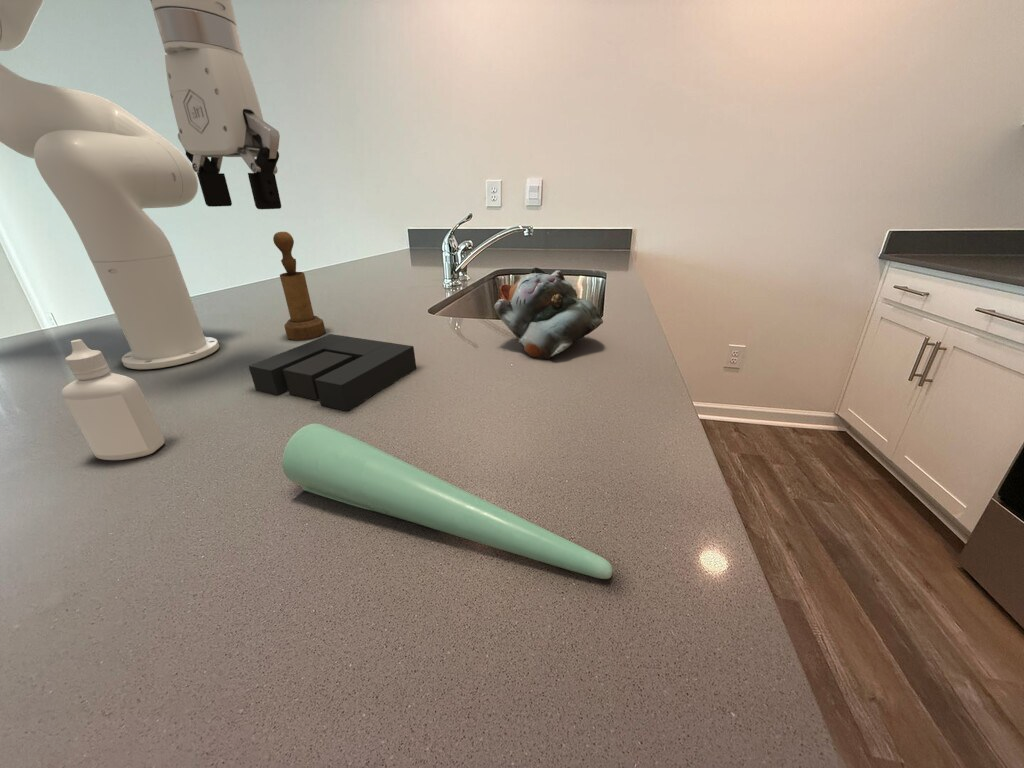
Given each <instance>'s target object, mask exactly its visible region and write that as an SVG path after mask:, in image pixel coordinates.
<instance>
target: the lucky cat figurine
mask: <svg viewBox="0 0 1024 768" xmlns="http://www.w3.org/2000/svg"><path fill="white" fill-rule="evenodd" d="M499 290H500V291H499V295H498V296H499V297H498V298H497V301H496V302H495V304H494V305H493V307H494V310H495V314H497V316H498V317H499V319H500V320H501V322H502V323H503V324H504V325H505V326H506V327H507V328H508V329H509V331H510V332H511V333H512V334H514V336H515V337H516V338H517V339H518V341H519V342H520V343H521V345H522V346H523V350H524V351H525V353H526V354H528V355H529V356H530V357H534V358H538V359H539V358H540V359H545V360H549V359H551V357H554V356H556V355H558V354H560V353H562V352H564V351H565V350H567V349H568V348H570V347H571V346H572V345H573V344H574V343H576V342H578V341H580V340H581V339H582V338H584V337H586V336H588V335H589V334H591V333H592V332H594V331H595V330H596V329H598V328H599V327H600V326H601V325H603V324H604V320H603V318H602V315H601V314H600V311H599V309H598V308H597V306H596V305H595V304H594V303H593V302H592V301H590V300H588V299H586V298H580V297H578V293H577V290H576V289H575V288H574V286H573V285H572V284H571V283H570V282H569V281H567V280H566V279H565V274H564V273H563V271H562V270H560V269H559V270H555V271H554V272H552V273H551V274H549V273H546V272H545V271H544V270H542V269H541V268H539V267H533V268H532V269H531V271H530V272H529V273H528V274H525V275H523V276H522V277H521V278H519V279H518V280H517V281H516V282H515V283H514V285H513V284H507V283H505V284H501V285H500V286H499Z"/></svg>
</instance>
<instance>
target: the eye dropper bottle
mask: <svg viewBox="0 0 1024 768" xmlns="http://www.w3.org/2000/svg"><path fill="white" fill-rule="evenodd" d="M70 344H71V349H72V352H71V354H69V355H68V356H66V357H65V359H64V360H65V362H66V364H67V365H68V367H69V370H70V371H71V373H72V376H73V377H74V379H75V380H73V381H71V382H70V383H68V384H66V385H65V386H64V387H63V388H62V390H61V397H62V399H63V400H64V403H65V404H66V406H67V408H68V410H69V412H70V414H71V415H72V418H73V419H74V421H75V423H76V425H77V427H78V429H79V430H80V432H81V435H83V437H84V439H85V441H86V443H87V445H88V446H89V448H90V450H91V452H92V454H93V455H94V456H95V457H96V458H97V459H99V460H103V461H124V460H132V459H136V458H141V457H146V456H149V455H151V454H153V453H155V452H156V451H157V450H159V449H160V448H161V447H162V446H163V445H164V444H165V438H164V435H163V433H162V431H161V430H160V427H159V425H158V423H157V421H156V418H155V417H154V414H153V411H152V410H151V407H150V405H149V403H148V401H147V399H146V396H145V395H144V393H143V391H142V388H141V386H140V385H139V383H138V382H137V381H136V380H135V379H134V378H132V377H129V376H128V375H123V374H119V373H114V372H111V369H110V366H109V364H108V362H107V360H106V358H105V356H104V354H103V352H102V351H101V350H97V349H91V348H89V346H88V345H86V344H85V342H84V341H83V340H82V339H74V340H71V341H70Z"/></svg>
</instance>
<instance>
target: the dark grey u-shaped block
mask: <svg viewBox="0 0 1024 768" xmlns="http://www.w3.org/2000/svg"><path fill="white" fill-rule="evenodd" d="M323 352H331V353H337V354H343V355H349V356H352V358H353V361H352V362H350V363H348V364H346V365H344V366H341V367H339V368H337V369H335V370H333V371H331V372H329V373H327V374H325V375H323V376H321V377H319V378H317V379H315V383H316V387H317V391H318V395H319V401H320V402H319V403H320V405H321V406H324V407H328V408H332V409H337V410H341V411H344V412H348V411H349V410H351V409H353V408H355V407H356V406H358V405H359V404H362V402H364V401H366V400H367V399H369V398H371V397H372V396H374V395H376V394H377V393H379V392H380V391H383V390H384V389H385V388H387V387H389V386H391V385H392V384H393V383H395V382H396V381H398V380H400V379H401V378H403V377H405V376H406V375H408V374H409V373H411V372H413V371H415V370H416V369H417V362H416V354H415V348H414V345H408V344H401V343H394V342H388V341H381V340H375V339H367V338H360V337H355V336H354V337H353V336H349V335H340V334H334V333H329V334H326V335H324V336H320V337H319V338H316V339H314V340H311V341H309V342H306V343H303V344H301V345H299V346H296V347H293V348H290V349H288V350H285V351H283V352H281V353H278V354H275V355H273V356H270V357H267V358H265V359H262V360H260V361H257V362H255V363H252V364H249V365H248V366H247V367H248V369H249V373H250V377H251V379H252V382H253V385H254V389H255V391H259V392H264V393H267V394H273V395H276V396H279V395H281V394H283V393H286V392H287V391H289V390H288V387H287V383H286V380H285V376H284V373H283V369H285V368H288V367H290V366H292V365H295V364H297V363H299V362H302V361H304V360H306V359H309V358H311V357H313V356H316V355H318V354H320V353H323Z"/></svg>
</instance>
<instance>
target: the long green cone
mask: <svg viewBox="0 0 1024 768" xmlns="http://www.w3.org/2000/svg"><path fill="white" fill-rule="evenodd" d="M281 462H282V470H283V474H284V476H285V477H286V478H287V479H288V480H289V481H290V482H291V483H293V484H296V485H298V486H301V487H302V490H303V491H305V492H309V493H312V494H315V495H318V496H321V497H324V498H327V499H331V500H334V501H337V502H340V503H344V504H347V505H350V506H353V507H357V508H361V509H364V510H369V511H373V512H377V513H380V514H383V515H387V516H390V517H392V518H397V519H399V520H404V521H406V522H411V523H414V524H417V525H420V526H423V527H426V528H430V529H433V530H436V531H439V532H443V533H446V534H449V535H452V536H456V537H459V538H462V539H465V540H470V541H472V542H475V543H478V544H482V545H485V546H487V547H488V546H489V547H492V548H495V549H498V550H501V551H504V552H507V553H510V554H514V555H518V556H521V557H524V558H528V559H530V560H533V561H534V560H535V561H537V562H541V563H544V564H547V565H551V566H553V567H557V568H561V569H563V570H566V571H570V572H571V571H572V572H575V573H578V574H581V575H585V576H588V577H593V578H595V579H600V580H601V579H602V580H608V579H610V578H611V577H612V576H613V566H612V564H611V563H610V562H609V560H607V559H606V558H604V557H603V556H600V555H599V554H597V553H594V552H592V551H591V550H590V549H589V550H588V549H587V548H584V547H583V546H580V545H578V544H577V543H575V542H572V541H570V540H568V539H566V538H564V537H562V536H561V535H558V534H556V533H554V532H552V531H550V530H548V529H546V528H543V527H541V526H540V525H538V524H535V523H533V522H532V521H530V520H527V519H525V518H523V517H521V516H519V515H516V514H515V513H513V512H511V511H508V510H506V509H504V508H502V507H500V506H498V505H496V504H494V503H492V502H490V501H488V500H485V499H484V498H481V497H479V496H477V495H475V494H473V493H471V492H469V491H466V490H465V489H463V488H460V487H458V486H456V485H454V484H452V483H451V482H448V481H446V480H444V479H442V478H440V477H438V476H436V475H433V474H431V473H429V472H427V471H425V470H423V469H421V468H419V467H417V466H414V465H412V464H411V463H408V462H406V461H404V460H402V459H400V458H398V457H396V456H394V455H392V454H390V453H388V452H386V451H383V450H382V449H379V448H377V447H375V446H373V445H371V444H369V443H367V442H365V441H362V440H360V439H358V438H356V437H354V436H351V435H349V434H346V433H344V432H342V431H339V430H337V429H334V428H332V427H329V426H326V425H324V424H322V423H310V424H307V425H305V426H303V427H301V428H300V429H299V430H297V431H296V432H295V433H294V434H293V435H292V436H291V437H290V439H289V440H288V442H287V443H286V445H285V448H284V451H283V455H282V461H281Z"/></svg>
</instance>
